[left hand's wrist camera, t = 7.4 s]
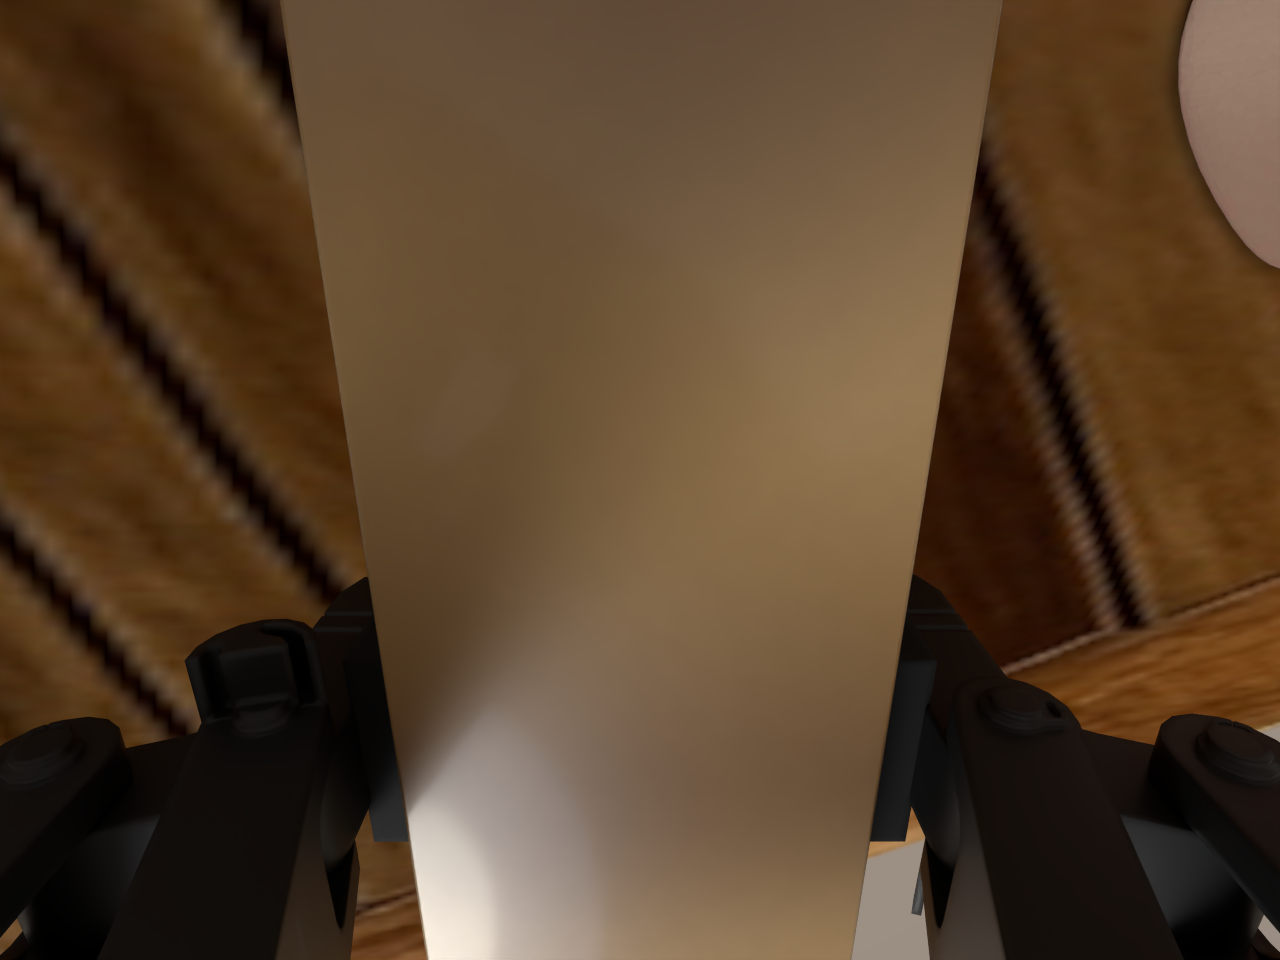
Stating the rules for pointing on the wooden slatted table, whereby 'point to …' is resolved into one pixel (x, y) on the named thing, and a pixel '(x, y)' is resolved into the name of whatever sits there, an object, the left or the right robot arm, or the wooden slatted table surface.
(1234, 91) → the anatomical model
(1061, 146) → the wooden slatted table surface
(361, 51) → the bar
